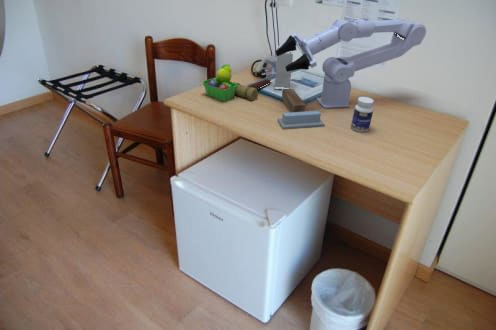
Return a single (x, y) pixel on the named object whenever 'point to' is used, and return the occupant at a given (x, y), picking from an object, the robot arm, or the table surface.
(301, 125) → the fulcrum
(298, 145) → the table surface
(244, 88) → the gavel
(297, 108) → the walnut bar
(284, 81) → the skincare box
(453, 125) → the table surface
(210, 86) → the fruit basket
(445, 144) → the table surface
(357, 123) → the pill bottle
